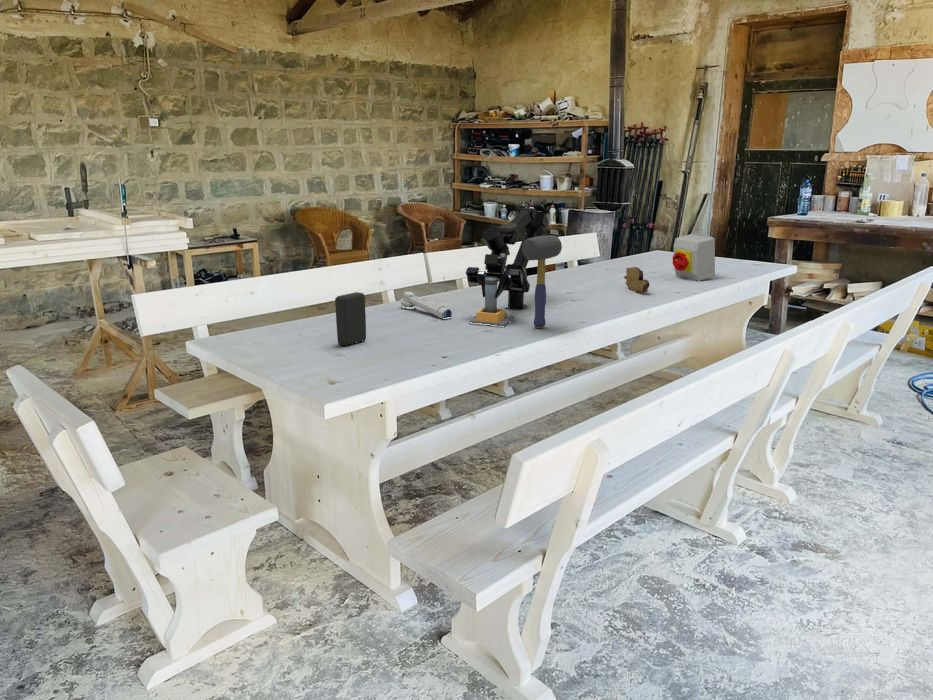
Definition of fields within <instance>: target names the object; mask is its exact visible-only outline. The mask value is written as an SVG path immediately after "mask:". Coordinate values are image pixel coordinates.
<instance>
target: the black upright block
mask: <svg viewBox="0 0 933 700" xmlns="http://www.w3.org/2000/svg"><path fill="white" fill-rule="evenodd" d="M334 299H335V300H334V304H335V306H334V307H335V320H336V337H337V344H338V345H339V344H341V345H340V346H342V345H348V346H350V345H349V344H352V343H355V344H357V343H356V342H359V341H362V340H364V341H366V339H367V321H366V320H367V319H366V318H367V317H366V315H367V314H366V296H365V294H364V293H363V292H357V291H356V292H351V293H346V294H342V295H338V296H336V297H335V298H334ZM362 342H363V341H362ZM359 343H360V342H359ZM352 345H353V344H352Z"/></svg>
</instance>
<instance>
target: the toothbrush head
mask: <svg viewBox="0 0 933 700" xmlns="http://www.w3.org/2000/svg"><path fill="white" fill-rule="evenodd" d="M400 303H401V304H400V305H402V306H404V307H413V306H415V307H418V308H420V309H422V310H424V311H426V312H427V313H430V314H432V315H434V316H436V317H437V316H439V317H442V318H447V317H451V318H452V315H453V312H452V310H451V309H450V308H447V307H446V306H445V305H440V304H438V303H436V302H435V303H434V302H432V301H430V300H428V299H425V298H422V297H420V296H417V295H415V294H414V292H411V291H404V293H403V294H402V298H400ZM442 318H441V319H442Z"/></svg>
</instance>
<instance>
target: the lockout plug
mask: <svg viewBox="0 0 933 700" xmlns="http://www.w3.org/2000/svg"><path fill="white" fill-rule="evenodd" d="M497 288H498V279H497V277H495V276H487V277H485V297H484V307H485V312H486V313H497V309H498V298H496V292H497Z"/></svg>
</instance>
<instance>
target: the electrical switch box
mask: <svg viewBox="0 0 933 700" xmlns="http://www.w3.org/2000/svg"><path fill="white" fill-rule="evenodd" d="M674 239H675V240H674V244H673V255H672V259H671V260H672V265H673V270H674V273H675V275H676V276H677V277H679V276H681V277H680V278H683V277H685V278H684V279H687V278H688V279H687V280H691V279H693V280H692V281H695V280H697V281H696V282H702V281H704V280H708V279H711V278H712V279H713V278H715V276H716V260H715V259H716V255H715V253H716V252H715V250H716V248H715V247H716V244H715V242H716V239H715V238H714V237H713V236H710V235H708V234H706V233H704V232H703V233H702V232H700V233H691V234H687V235H683V236H678V237H676V238H674ZM701 280H702V281H701Z"/></svg>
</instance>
